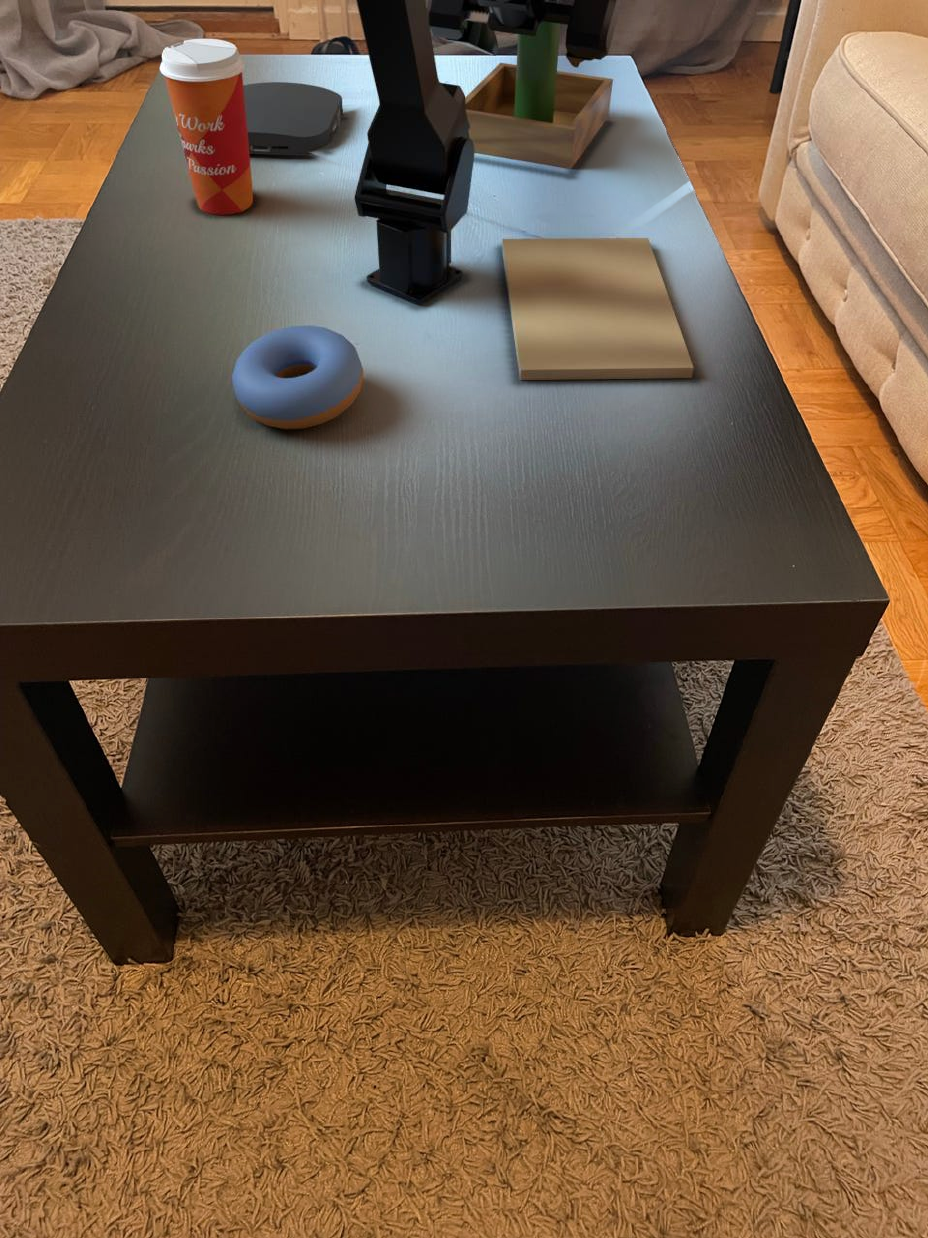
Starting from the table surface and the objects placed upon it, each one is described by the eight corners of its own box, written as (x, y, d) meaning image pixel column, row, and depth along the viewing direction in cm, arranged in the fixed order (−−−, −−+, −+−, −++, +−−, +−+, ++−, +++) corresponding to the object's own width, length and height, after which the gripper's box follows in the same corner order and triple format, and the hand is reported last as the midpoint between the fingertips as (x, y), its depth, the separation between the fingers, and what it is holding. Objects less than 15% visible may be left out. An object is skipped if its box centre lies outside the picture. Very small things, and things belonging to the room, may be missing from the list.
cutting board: (691, 378, 79) (694, 367, 78) (519, 380, 78) (520, 369, 78) (646, 247, 94) (648, 237, 93) (501, 248, 93) (502, 238, 92)
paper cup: (171, 205, 98) (138, 53, 88) (224, 179, 103) (199, 30, 92) (227, 227, 95) (200, 71, 85) (280, 199, 100) (261, 47, 89)
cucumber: (537, 142, 108) (547, -2, 98) (505, 132, 110) (511, -11, 99) (559, 130, 110) (571, -12, 100) (528, 120, 112) (536, -20, 102)
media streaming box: (228, 103, 116) (224, 76, 114) (349, 109, 116) (347, 82, 114) (195, 154, 107) (190, 125, 104) (327, 161, 106) (324, 132, 104)
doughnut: (231, 442, 72) (220, 390, 69) (243, 366, 79) (233, 316, 76) (364, 438, 73) (360, 386, 70) (365, 363, 80) (361, 313, 76)
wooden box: (570, 176, 104) (574, 129, 101) (452, 155, 107) (452, 109, 104) (607, 122, 114) (613, 78, 111) (498, 105, 117) (500, 62, 114)
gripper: (630, -118, 86) (641, -10, 101) (434, -137, 90) (473, -31, 105) (596, 10, 87) (613, 98, 102) (404, -15, 91) (447, 73, 106)
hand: (536, 56), depth 104 cm, fingers open, 9 cm apart
